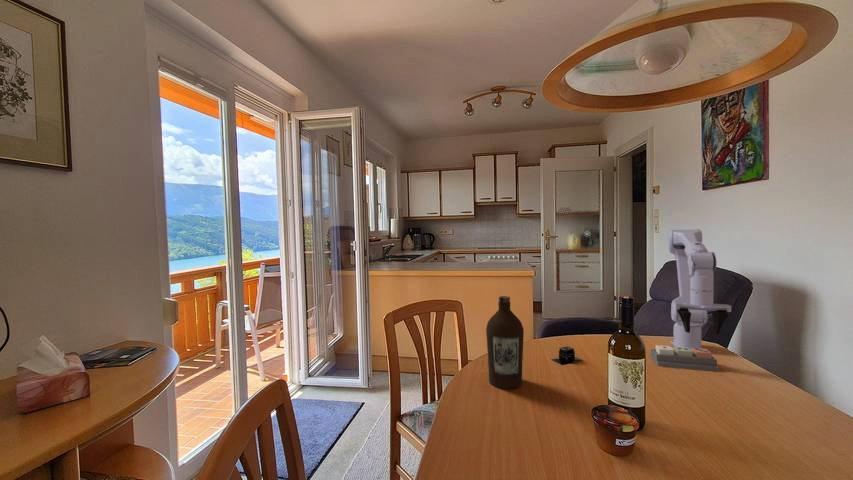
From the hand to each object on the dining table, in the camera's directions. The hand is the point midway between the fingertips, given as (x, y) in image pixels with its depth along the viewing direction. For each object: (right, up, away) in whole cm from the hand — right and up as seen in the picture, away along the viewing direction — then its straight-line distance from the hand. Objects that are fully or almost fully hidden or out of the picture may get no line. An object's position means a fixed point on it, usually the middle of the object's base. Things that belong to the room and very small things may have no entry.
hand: (701, 332), depth 109 cm
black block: (-40, -12, +7) cm, 42 cm away
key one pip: (-9, -8, +3) cm, 13 cm away
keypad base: (-5, -11, +2) cm, 12 cm away
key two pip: (-5, -8, +2) cm, 9 cm away
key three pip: (0, -8, 0) cm, 8 cm away
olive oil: (-64, -12, -9) cm, 66 cm away
